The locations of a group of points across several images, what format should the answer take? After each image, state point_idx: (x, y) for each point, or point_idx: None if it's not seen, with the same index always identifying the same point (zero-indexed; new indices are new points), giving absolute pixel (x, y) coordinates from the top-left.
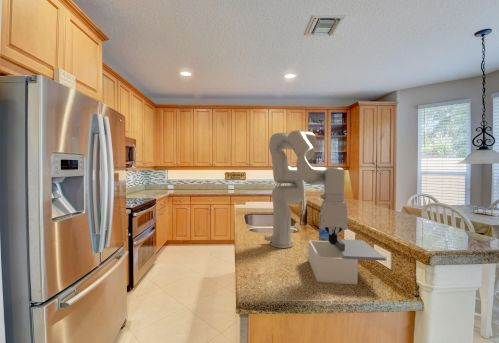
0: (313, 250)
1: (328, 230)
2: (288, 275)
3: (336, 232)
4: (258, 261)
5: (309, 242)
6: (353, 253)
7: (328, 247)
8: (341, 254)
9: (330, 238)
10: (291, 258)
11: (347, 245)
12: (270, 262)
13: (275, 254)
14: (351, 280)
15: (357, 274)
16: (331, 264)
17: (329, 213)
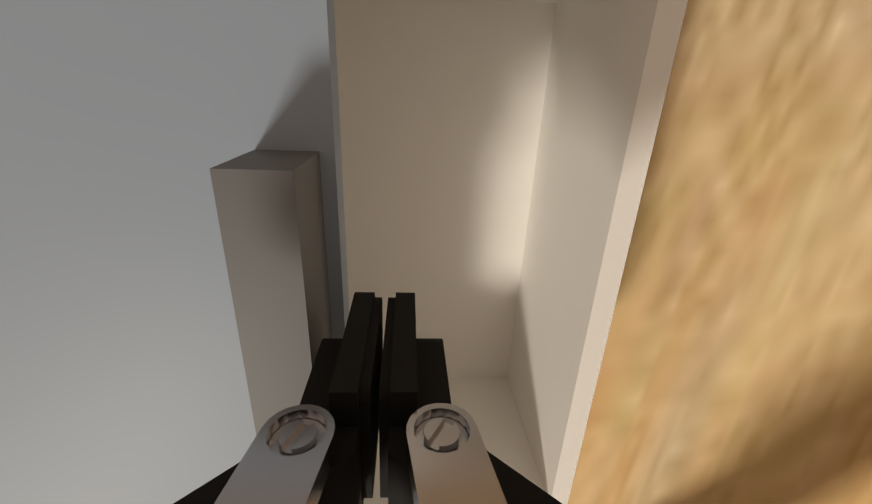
0: (616, 260)
1: (495, 502)
2: (749, 105)
3: (300, 457)
4: (856, 325)
5: (568, 479)
6: (129, 8)
7: (377, 459)
8: (332, 25)
9: (430, 366)
10: (618, 398)
11: (182, 374)
12: (783, 318)
13: (699, 443)
14: None
15: None
16: None
17: None
